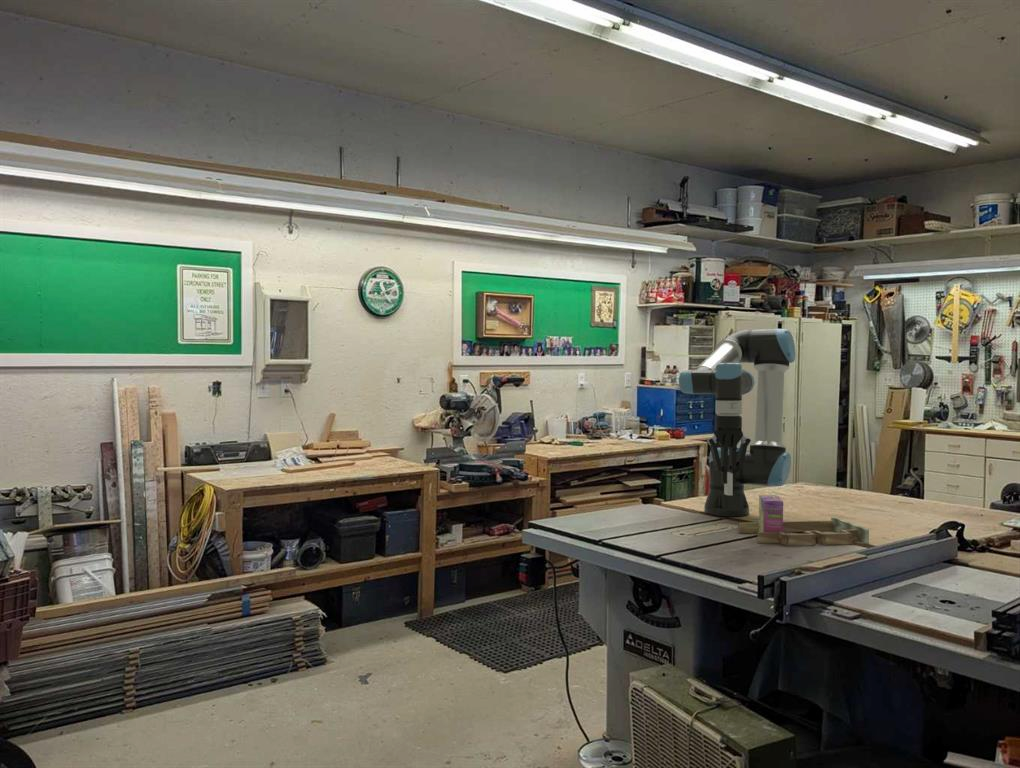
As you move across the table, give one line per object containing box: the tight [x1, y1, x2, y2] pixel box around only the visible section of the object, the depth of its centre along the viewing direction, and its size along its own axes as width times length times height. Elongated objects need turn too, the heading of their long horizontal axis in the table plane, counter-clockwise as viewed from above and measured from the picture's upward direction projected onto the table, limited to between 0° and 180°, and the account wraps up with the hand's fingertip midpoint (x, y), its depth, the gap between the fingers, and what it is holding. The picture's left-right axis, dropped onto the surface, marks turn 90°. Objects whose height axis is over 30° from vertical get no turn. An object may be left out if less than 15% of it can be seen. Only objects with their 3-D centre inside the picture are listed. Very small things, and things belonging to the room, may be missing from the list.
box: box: [758, 494, 784, 533], centre depth 229 cm, size 10×6×12 cm, turn 168°
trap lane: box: [737, 516, 870, 547], centre depth 228 cm, size 19×31×4 cm, turn 96°
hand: (728, 494), depth 227 cm, fingers closed
